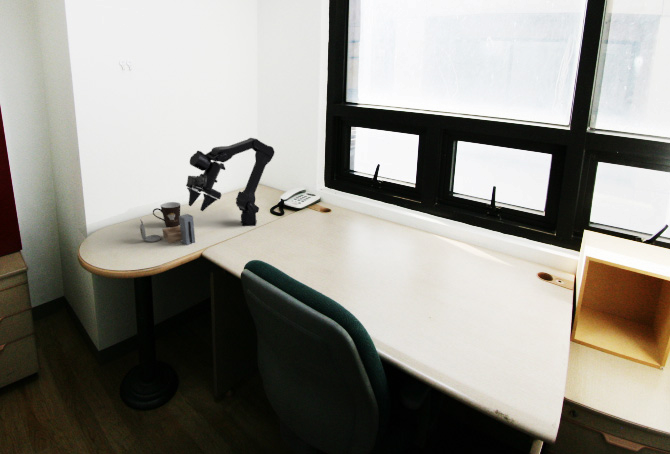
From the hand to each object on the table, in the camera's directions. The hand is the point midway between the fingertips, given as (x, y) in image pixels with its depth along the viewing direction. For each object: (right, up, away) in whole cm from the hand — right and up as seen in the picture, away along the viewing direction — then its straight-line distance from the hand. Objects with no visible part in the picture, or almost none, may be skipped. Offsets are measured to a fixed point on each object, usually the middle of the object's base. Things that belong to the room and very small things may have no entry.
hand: (195, 208), depth 190 cm
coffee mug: (-18, -7, +20) cm, 28 cm away
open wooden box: (-9, -13, +5) cm, 17 cm away
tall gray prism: (-3, -15, 0) cm, 15 cm away
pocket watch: (-20, -14, +2) cm, 25 cm away
